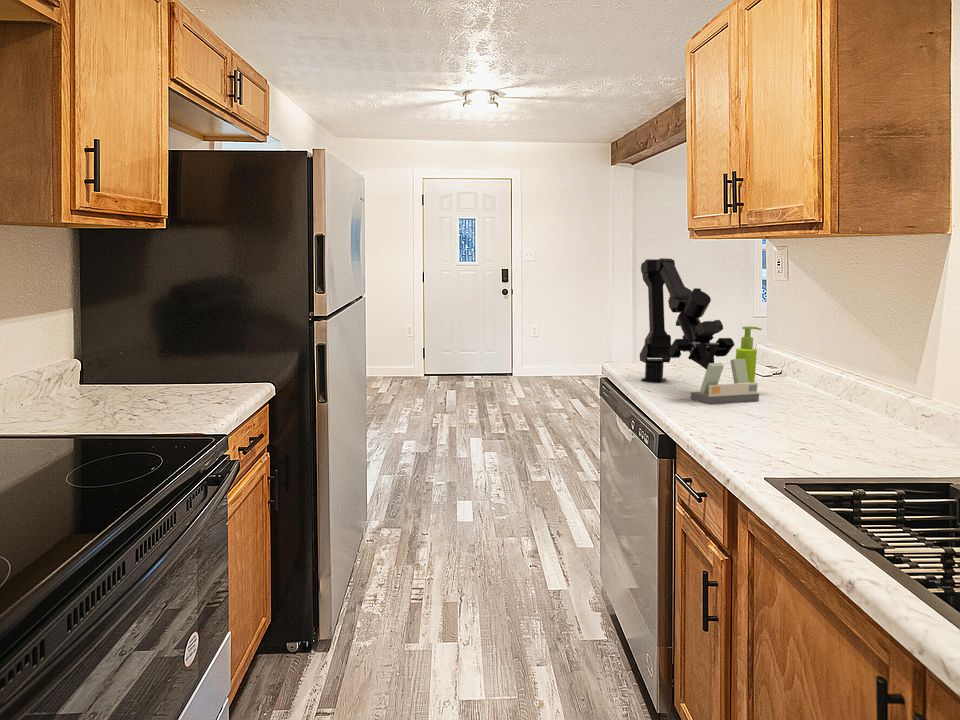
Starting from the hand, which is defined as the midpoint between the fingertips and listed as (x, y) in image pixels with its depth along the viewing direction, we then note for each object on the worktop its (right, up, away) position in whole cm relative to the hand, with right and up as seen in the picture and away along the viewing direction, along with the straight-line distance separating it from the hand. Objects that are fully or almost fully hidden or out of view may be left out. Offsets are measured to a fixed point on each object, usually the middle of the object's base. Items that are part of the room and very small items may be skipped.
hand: (712, 371), depth 228 cm
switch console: (+5, -8, +5) cm, 11 cm away
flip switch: (-1, -7, +2) cm, 7 cm away
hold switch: (+11, -6, +7) cm, 15 cm away
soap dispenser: (+15, -7, +19) cm, 25 cm away
